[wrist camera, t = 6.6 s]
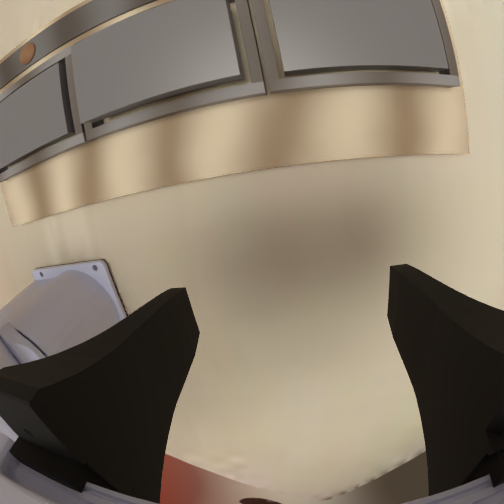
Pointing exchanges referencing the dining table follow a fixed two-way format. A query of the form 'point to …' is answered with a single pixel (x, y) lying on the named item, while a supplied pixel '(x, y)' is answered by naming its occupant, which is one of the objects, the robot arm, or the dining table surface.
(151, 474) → the robot arm
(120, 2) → the switch unit
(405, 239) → the dining table surface
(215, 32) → the key middle
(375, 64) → the key
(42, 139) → the key
